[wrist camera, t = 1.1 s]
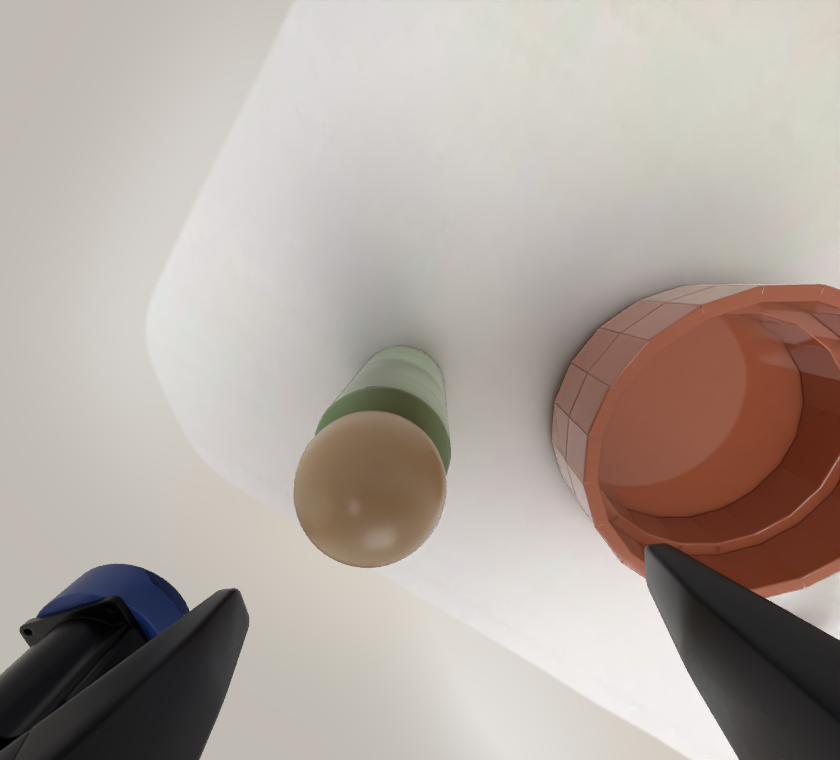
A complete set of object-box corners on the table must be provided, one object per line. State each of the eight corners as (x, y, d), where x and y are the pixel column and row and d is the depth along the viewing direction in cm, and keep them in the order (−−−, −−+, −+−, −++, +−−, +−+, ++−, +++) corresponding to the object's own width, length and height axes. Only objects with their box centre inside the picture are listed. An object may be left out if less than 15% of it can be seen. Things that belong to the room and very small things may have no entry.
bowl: (582, 555, 22) (624, 632, 17) (518, 336, 19) (547, 355, 14) (829, 491, 21) (949, 555, 16) (799, 243, 18) (936, 228, 13)
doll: (377, 438, 21) (305, 633, 9) (346, 361, 20) (224, 472, 8) (455, 413, 20) (484, 586, 9) (428, 333, 19) (419, 409, 8)
